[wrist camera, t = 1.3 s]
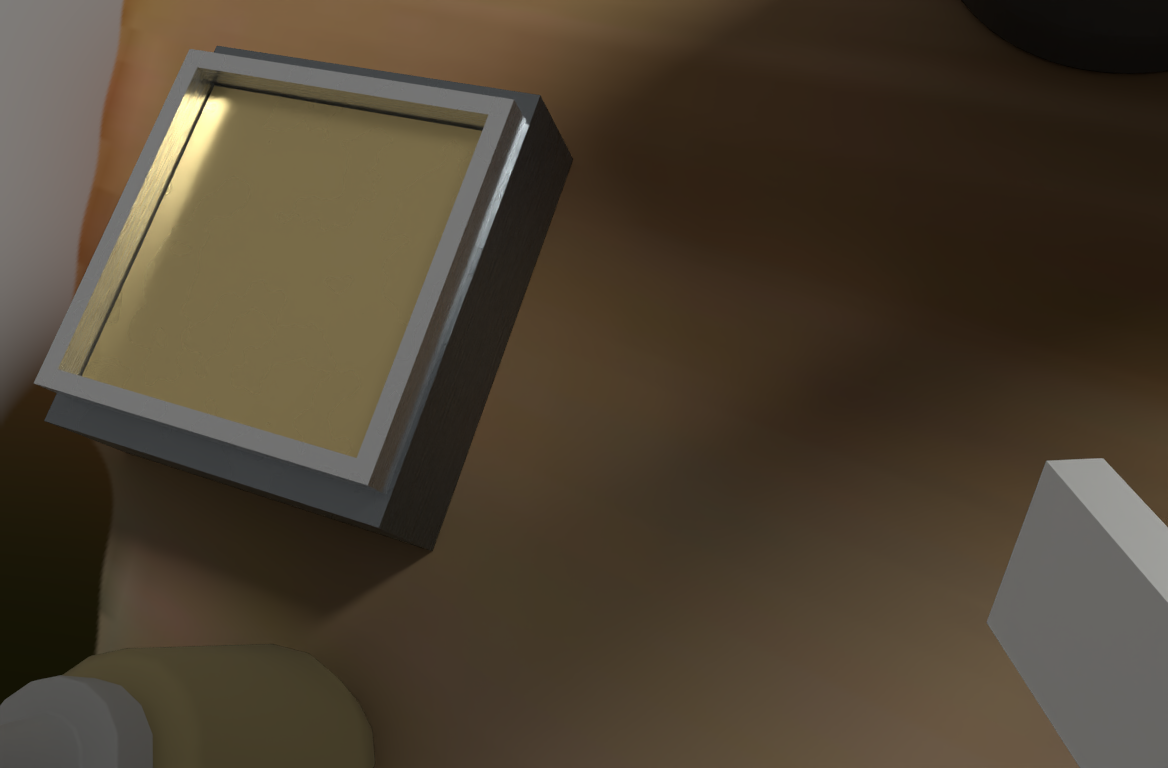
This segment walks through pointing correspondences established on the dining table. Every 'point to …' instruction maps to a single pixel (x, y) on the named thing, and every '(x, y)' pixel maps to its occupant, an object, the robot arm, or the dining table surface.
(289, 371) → the square box
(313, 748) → the squeeze bottle
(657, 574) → the dining table surface
